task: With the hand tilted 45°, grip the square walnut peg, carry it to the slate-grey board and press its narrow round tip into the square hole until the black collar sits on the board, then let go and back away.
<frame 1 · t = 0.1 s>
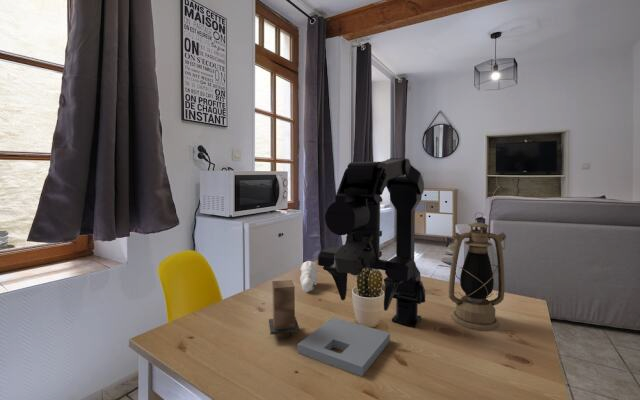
hand: (363, 304, 64), 15 cm above the table, tool pointing down, fingers open, 9 cm apart
walnut peg: (283, 333, 81), on the table
slate board: (345, 346, 75), on the table
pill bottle: (366, 287, 114), on the table
white lumpy upright piece: (308, 288, 113), on the table
lantern: (474, 320, 89), on the table
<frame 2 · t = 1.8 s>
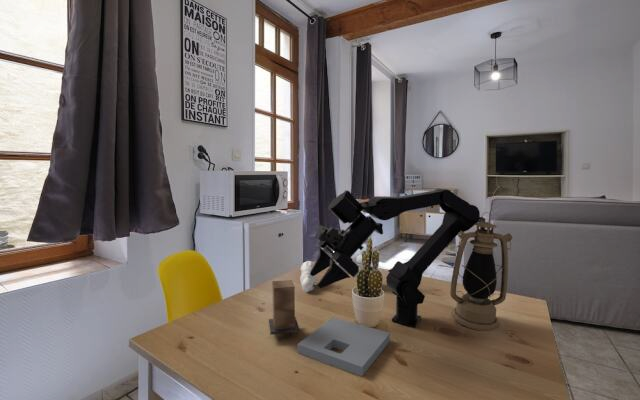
hand: (314, 280, 82), 13 cm above the table, tool tilted 45°, fingers open, 9 cm apart
lantern: (474, 319, 89), on the table, touching arm
everything else where it was.
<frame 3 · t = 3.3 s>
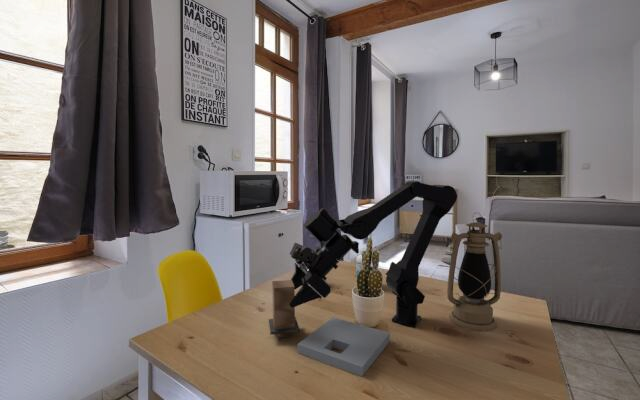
hand: (288, 298, 81), 9 cm above the table, tool tilted 45°, fingers open, 9 cm apart
lantern: (472, 321, 88), on the table
everything else where it was.
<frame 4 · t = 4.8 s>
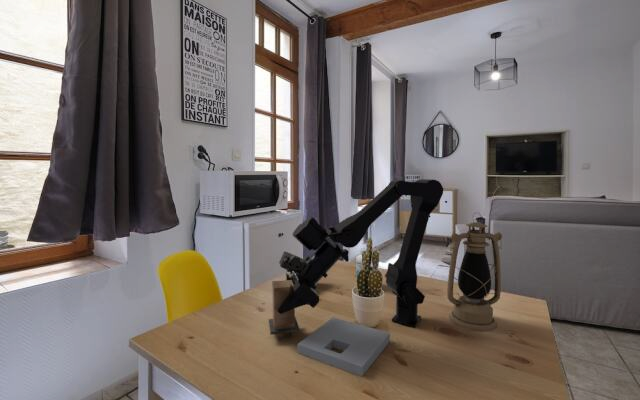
hand: (277, 308, 80), 7 cm above the table, tool tilted 45°, fingers closed on walnut peg, 5 cm apart
walnut peg: (283, 333, 81), on the table, touching gripper
everything else where it was.
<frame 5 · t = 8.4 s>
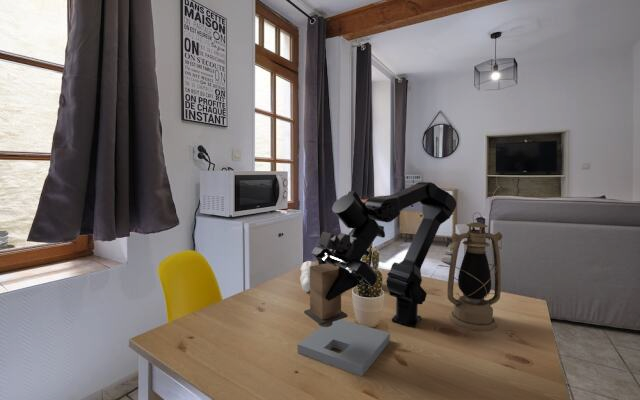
hand: (320, 295, 71), 14 cm above the table, tool tilted 45°, fingers closed on walnut peg, 5 cm apart
walnut peg: (325, 323, 72), point 7 cm above the table, touching gripper
everything else where it was.
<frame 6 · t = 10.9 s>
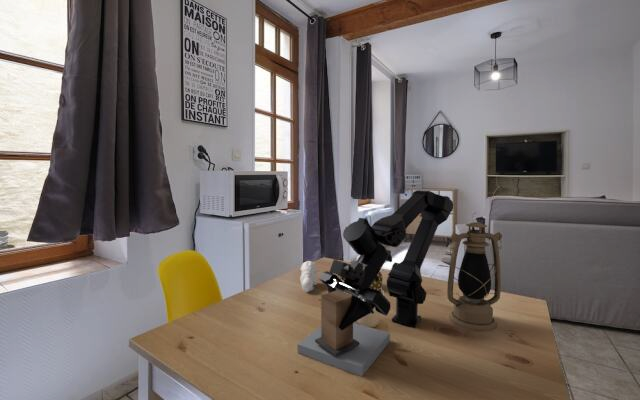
hand: (332, 324, 70), 8 cm above the table, tool tilted 45°, fingers closed on walnut peg, 5 cm apart
walnut peg: (337, 352, 72), point 1 cm above the table, touching gripper
everything else where it was.
when the fingers open (7 cm above the table, at t = 12.6 s): walnut peg stays where it is, resting on slate board.
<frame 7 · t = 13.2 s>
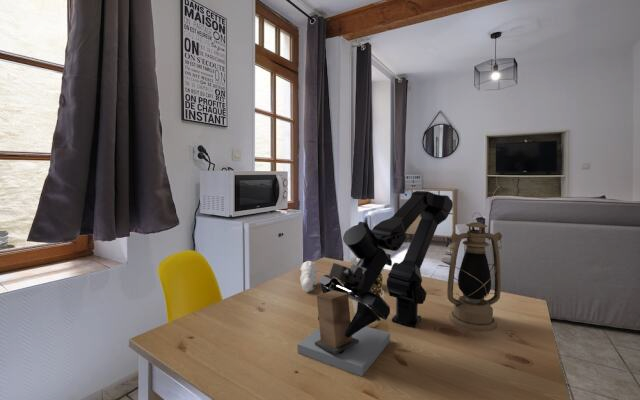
hand: (331, 328, 70), 7 cm above the table, tool tilted 45°, fingers open, 9 cm apart
walnut peg: (337, 352, 72), point 1 cm above the table, tilted 8°, touching gripper, slate board
everything else where it was.
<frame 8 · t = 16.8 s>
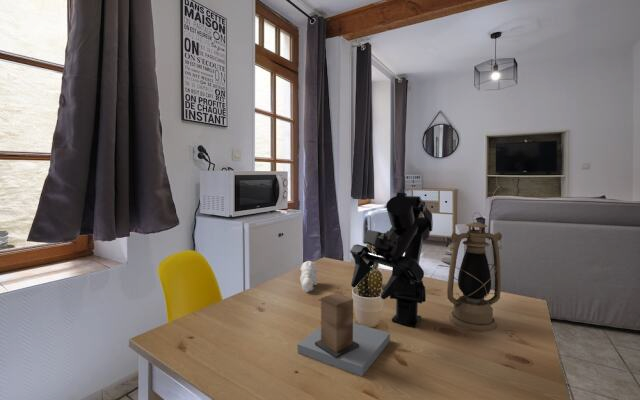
hand: (366, 292, 73), 14 cm above the table, tool tilted 45°, fingers open, 9 cm apart
walnut peg: (336, 354, 72), resting on slate board
everything else where it was.
at the end: walnut peg 0.1 cm from the target spot on the slate board, point 0.0 cm above the slate board's base; walnut peg tilted 0°; the gripper is holding nothing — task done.
